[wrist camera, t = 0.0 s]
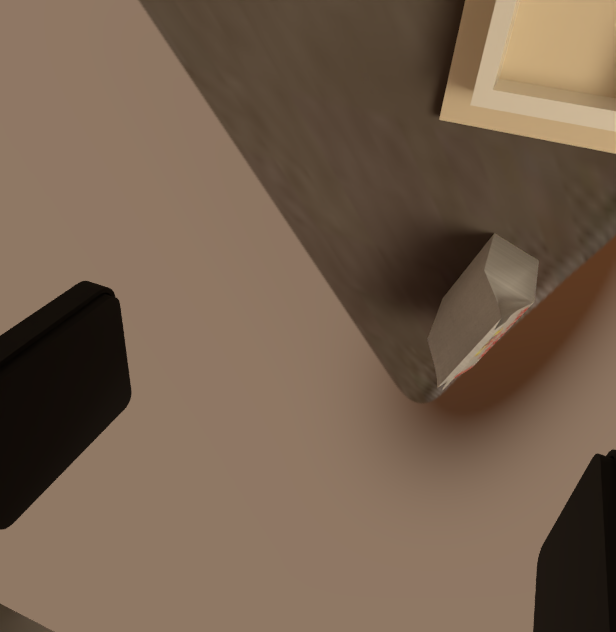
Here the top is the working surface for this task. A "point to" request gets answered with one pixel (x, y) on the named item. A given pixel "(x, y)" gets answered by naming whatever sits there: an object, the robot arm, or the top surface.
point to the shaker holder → (537, 70)
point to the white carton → (481, 307)
